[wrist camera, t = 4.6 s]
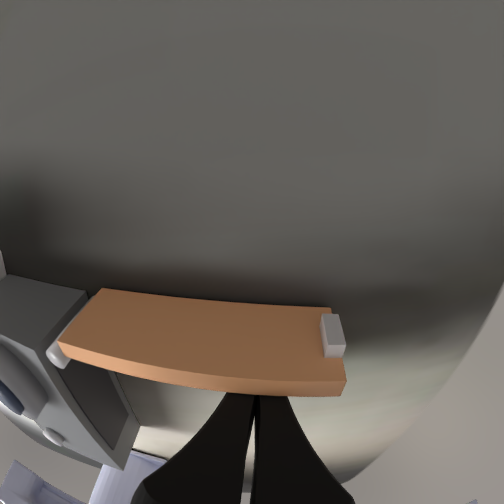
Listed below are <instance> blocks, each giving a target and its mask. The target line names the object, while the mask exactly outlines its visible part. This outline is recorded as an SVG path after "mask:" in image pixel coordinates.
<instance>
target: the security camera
mask: <svg viewBox="0 0 504 504" xmlns="http://www.w3.org/2000/svg"><path fill="white" fill-rule="evenodd" d="M6 276H7V274H6V270H5V266H4V261H3V257H2V252H1V250H0V281H1V280H2V279H3V278H4V277H6Z"/></svg>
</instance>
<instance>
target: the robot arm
mask: <svg viewBox="0 0 504 504" xmlns="http://www.w3.org/2000/svg"><path fill="white" fill-rule="evenodd" d="M254 416H255V459H254V470H253V479H252V488H251V498H250V504H355V502H354V499H353V497H352V496H351V495H350V494H349V493H348V492H347V491H346V490H345V489H344V488H343V487H342V486H341V484H340V483H339V482H338V481H337V480H336V479H335V477H334V476H333V475H332V474H331V473H330V471H329V470H328V469H327V468H326V466H325V465H324V463H323V462H322V461H321V459H320V458H319V456H318V455H317V454H316V452H315V451H314V449H313V447H312V446H311V444H310V443H309V441H308V439H307V437H306V436H305V434H304V432H303V430H302V428H301V426H300V424H299V422H298V420H297V418H296V416H295V414H294V412H293V409H292V407H291V405H290V402H289V399H288V397H287V396H270V395H254V394H242V393H232V392H227V393H226V394H225V396H224V398H223V399H222V401H221V402H220V404H219V405H218V407H217V408H216V410H215V411H214V412H213V414H212V415H211V417H210V418H209V419H208V420H207V422H206V423H205V424H204V425H203V427H202V428H201V429H200V430H199V431H198V432H197V434H196V435H195V436H194V437H193V438H192V439H191V440H190V441H189V442H188V443H187V444H186V445H185V446H184V447H183V448H182V449H181V450H180V451H179V452H178V453H176V454H175V455H174V456H173V457H172V458H171V459H170V460H169V461H166V460H164V459H161V458H157V457H154V456H150V455H146V454H143V453H140V452H136V451H133V450H131V452H130V455H129V458H128V460H127V463H126V466H125V469H124V471H121V470H118V469H115V468H113V467H110V466H107V465H105V464H103V466H102V469H101V472H100V474H99V477H98V479H97V482H96V484H95V487H94V489H93V492H92V495H91V498H90V500H89V503H88V504H240V502H241V494H242V486H243V478H244V469H245V460H246V454H247V449H248V444H249V440H250V435H251V430H252V425H253V421H254ZM0 500H1V502H3V503H4V504H86V503H84V502H81V501H79V500H77V499H76V498H74V497H72V496H70V495H68V494H66V493H64V492H62V491H61V490H59V489H57V488H56V487H54V486H52V485H51V484H49V483H47V482H46V481H44V480H43V479H42V478H41V477H39V476H38V475H36V474H35V473H34V472H32V471H31V470H29V469H28V468H26V467H25V466H23V465H22V464H21V463H19V462H18V461H16V460H14V461H13V462H12V464H11V466H10V468H9V470H8V473H7V475H6V477H5V479H4V481H3V483H2V485H1V487H0ZM467 504H478V503H477V500H476V499H475V500H473V501H471V502H469V503H467Z"/></svg>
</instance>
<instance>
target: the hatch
mask: <svg viewBox="0 0 504 504" xmlns="http://www.w3.org/2000/svg"><path fill="white" fill-rule="evenodd" d="M345 347H346V342H345V338H344V334H343V330H342V326H341V322H340V318H339V314H332V311H331V308H327V307H301V306H281V305H264V304H249V303H235V302H223V301H211V300H200V299H190V298H180V297H171V296H162V295H153V294H145V293H137V292H129V291H121V290H114V289H107V288H101V289H100V291H99V292H98V293H97V294H96V295H94V296H92V297H91V298H90V299H89V300H88V302H87V303H86V304H85V305H84V306H83V307H82V308H81V310H80V311H79V312H78V313H77V314H76V315H75V316H74V318H73V319H72V320H71V321H70V322H69V324H68V325H67V326H66V327H65V328H64V330H63V331H62V332H61V333H60V334H59V336H58V337H57V338H56V339H55V341H54V342H53V343H52V344H51V346H50V347H49V348H48V349H47V351H46V355H47V357H48V359H49V360H50V361H51V362H52V363H53V364H54V365H55V366H57V367H59V368H61V369H64V368H65V367H66V365H67V364H68V362H69V361H70V360H71V358H72V359H75V360H78V361H81V362H84V363H87V364H91V365H94V366H97V367H101V368H104V369H108V370H112V371H115V372H119V373H123V374H127V375H131V376H136V377H140V378H144V379H149V380H154V381H159V382H164V383H169V384H175V385H180V386H186V387H193V388H199V389H207V390H214V391H222V392H232V393H242V394H254V395H270V396H296V397H329V396H341V394H342V391H343V389H344V387H345V384H346V382H347V380H346V375H345V370H344V365H343V360H342V357H343V354H344V351H345Z"/></svg>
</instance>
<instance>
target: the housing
mask: <svg viewBox="0 0 504 504" xmlns="http://www.w3.org/2000/svg"><path fill="white" fill-rule="evenodd" d="M87 302H88V296H87V293H86V291H83V290H78V289H73V288H68V287H64V286H59V285H54V284H49V283H45V282H41V281H36V280H32V279H28V278H24V277H19V276H15V275H11V274H8V275H7V276H6V277H4V278H3V279H2V280H1V281H0V401H1V402H2V403H3V404H4V405H5V406H7V407H8V408H9V409H10V410H12V411H13V412H15V413H16V414H18V415H21V414H23V415H24V416H26V417H28V418H29V419H32V420H34V421H35V422H36V423H37V424H38V425H39V427H40V428H41V429H42V430H43V431H44V432H43V434H44V435H45V436H46V437H47V438H48V439H49V440H50V441H52V442H53V443H55V444H57V445H59V446H62V445H63V446H65V447H67V448H69V449H71V450H73V451H75V452H77V453H80V454H82V455H84V456H86V457H88V458H91V459H93V460H95V461H98V462H100V463H102V464H105V465H107V466H110V467H113V468H115V469H118V470H121V471H124V469H125V466H126V463H127V460H128V458H129V455H130V452H131V449H132V447H133V444H134V442H135V439H136V436H137V434H138V431H139V428H140V424H139V423H138V421H137V419H136V417H135V415H134V413H133V411H132V409H131V407H130V405H129V403H128V401H127V399H126V397H125V395H124V393H123V390H122V388H121V386H120V384H119V382H118V379H117V377H116V375H115V372H114V371H112V370H108V369H104V368H101V367H97V366H94V365H91V364H87V363H84V362H81V361H78V360H75V359H72V358H71V360H70V361H69V362H68V364H67V365H66V367H65V368H64V369H61V368H59V367H57V366H55V365H54V364H53V363H52V362H51V361H50V360H49V359H48V357H47V355H46V351H47V349H48V348H49V347H50V346H51V344H52V343H53V342H54V341H55V339H56V338H57V337H58V336H59V334H60V333H61V332H62V331H63V330H64V328H65V327H66V326H67V325H68V324H69V322H70V321H71V320H72V319H73V318H74V316H75V315H76V314H77V313H78V312H79V311H80V310H81V308H82V307H83V306H84V305H85V304H86V303H87Z"/></svg>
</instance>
